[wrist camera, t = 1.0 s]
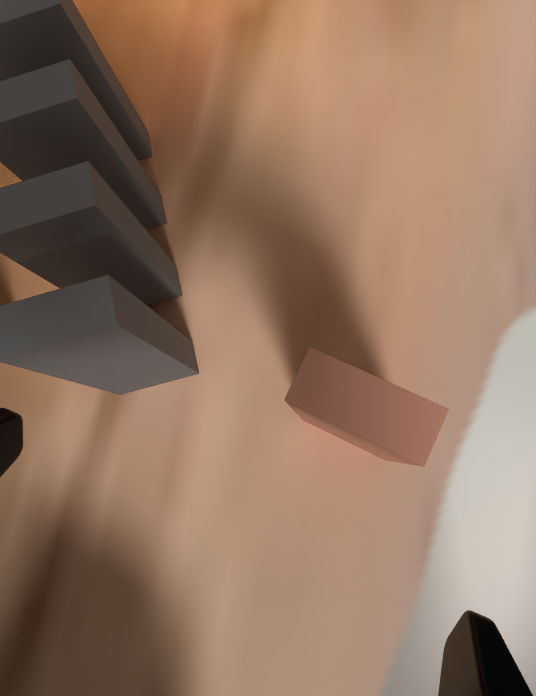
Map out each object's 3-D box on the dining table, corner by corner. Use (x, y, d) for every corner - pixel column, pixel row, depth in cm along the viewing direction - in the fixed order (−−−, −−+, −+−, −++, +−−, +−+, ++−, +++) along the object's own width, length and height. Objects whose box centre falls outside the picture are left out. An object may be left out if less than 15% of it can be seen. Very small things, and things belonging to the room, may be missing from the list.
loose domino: (385, 460, 23) (424, 466, 14) (303, 420, 24) (284, 399, 14) (400, 426, 24) (448, 408, 14) (318, 388, 24) (309, 346, 15)
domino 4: (199, 373, 25) (116, 324, 16) (120, 394, 26) (-8, 359, 16) (192, 341, 26) (108, 274, 16) (115, 362, 26) (-13, 309, 16)
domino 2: (166, 222, 28) (77, 98, 18) (94, 244, 28) (-33, 132, 18) (161, 195, 28) (70, 58, 18) (89, 216, 28) (-37, 93, 19)
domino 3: (182, 295, 26) (96, 205, 17) (106, 316, 27) (-21, 240, 17) (176, 265, 27) (88, 161, 17) (102, 286, 27) (-26, 196, 17)
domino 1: (152, 155, 29) (60, 3, 19) (82, 176, 29) (-44, 37, 19) (147, 130, 29) (53, -32, 19) (78, 151, 29) (-47, 2, 20)
